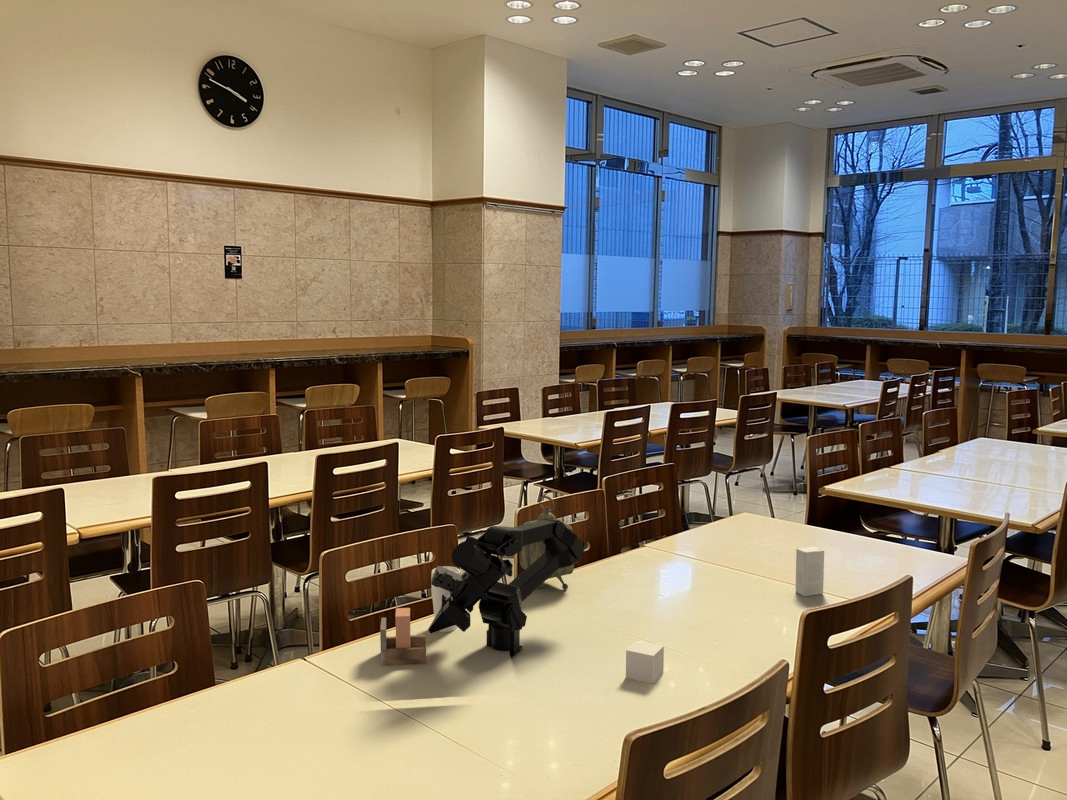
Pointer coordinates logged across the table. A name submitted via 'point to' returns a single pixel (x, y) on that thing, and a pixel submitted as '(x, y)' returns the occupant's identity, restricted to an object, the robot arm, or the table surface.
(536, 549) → the tabletop clock
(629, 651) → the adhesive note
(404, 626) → the salmon pink block
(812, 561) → the skincare box
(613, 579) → the table surface
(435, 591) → the drinking glass
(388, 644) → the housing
